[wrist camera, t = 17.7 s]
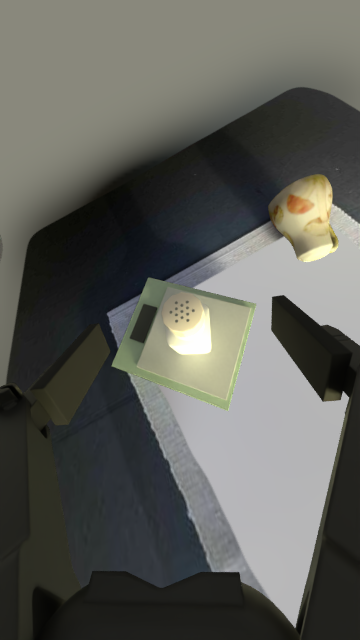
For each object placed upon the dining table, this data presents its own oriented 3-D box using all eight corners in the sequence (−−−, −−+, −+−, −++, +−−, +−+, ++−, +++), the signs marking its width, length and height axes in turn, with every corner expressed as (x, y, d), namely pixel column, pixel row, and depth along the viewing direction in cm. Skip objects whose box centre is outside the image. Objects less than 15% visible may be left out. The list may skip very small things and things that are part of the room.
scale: (118, 367, 27) (108, 365, 25) (152, 284, 30) (146, 274, 28) (226, 408, 24) (228, 412, 21) (253, 309, 27) (257, 301, 24)
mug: (289, 280, 27) (282, 207, 21) (269, 246, 34) (260, 183, 28) (354, 260, 25) (369, 170, 18) (319, 228, 32) (321, 154, 25)
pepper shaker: (209, 320, 24) (207, 284, 15) (211, 353, 23) (210, 336, 14) (177, 322, 25) (156, 289, 16) (177, 355, 24) (155, 339, 15)
